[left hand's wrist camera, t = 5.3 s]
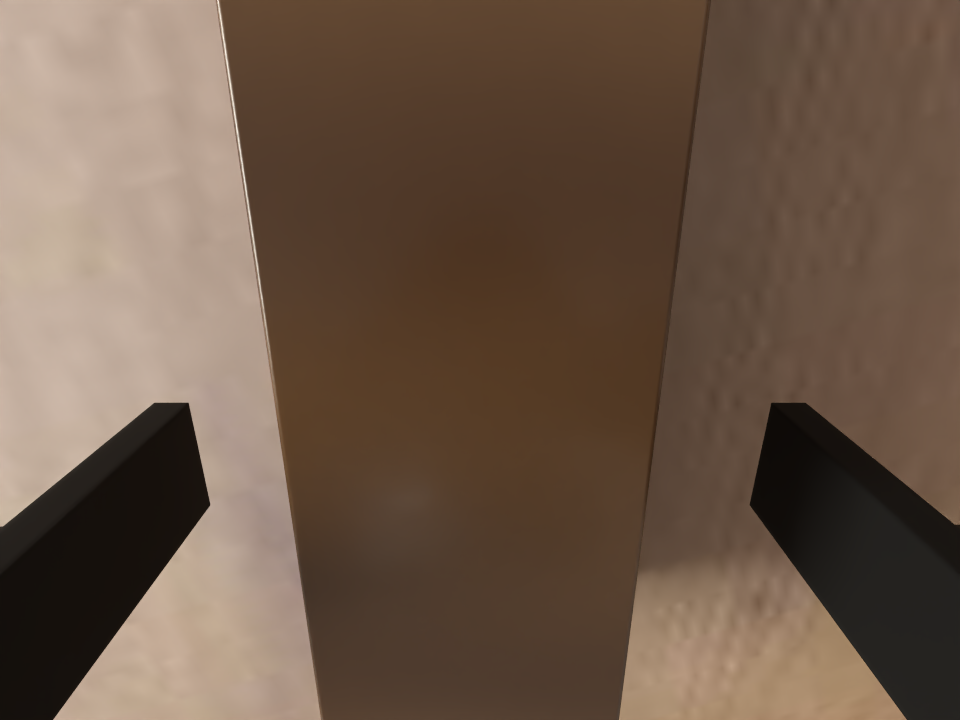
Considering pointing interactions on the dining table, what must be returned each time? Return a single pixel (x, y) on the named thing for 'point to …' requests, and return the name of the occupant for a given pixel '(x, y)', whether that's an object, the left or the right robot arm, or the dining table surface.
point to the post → (466, 330)
